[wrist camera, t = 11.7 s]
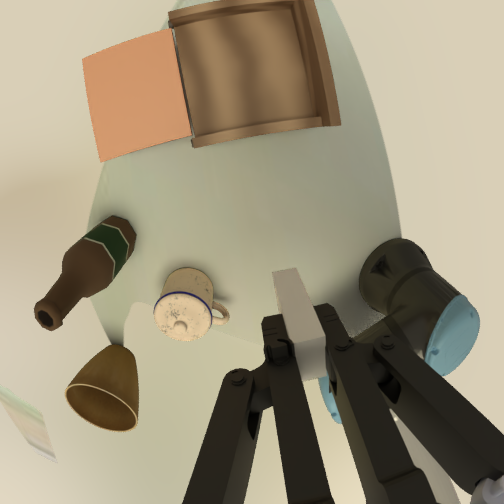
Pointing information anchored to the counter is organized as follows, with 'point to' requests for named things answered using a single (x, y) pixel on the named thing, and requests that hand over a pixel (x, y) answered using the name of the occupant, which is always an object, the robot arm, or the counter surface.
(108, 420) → the plant pot
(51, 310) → the beer bottle
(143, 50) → the orange rectangular slab
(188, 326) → the teacup with lid
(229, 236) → the counter surface
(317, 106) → the tray
